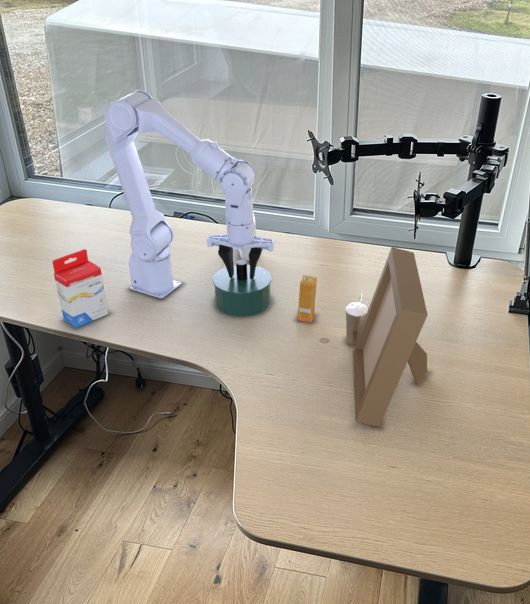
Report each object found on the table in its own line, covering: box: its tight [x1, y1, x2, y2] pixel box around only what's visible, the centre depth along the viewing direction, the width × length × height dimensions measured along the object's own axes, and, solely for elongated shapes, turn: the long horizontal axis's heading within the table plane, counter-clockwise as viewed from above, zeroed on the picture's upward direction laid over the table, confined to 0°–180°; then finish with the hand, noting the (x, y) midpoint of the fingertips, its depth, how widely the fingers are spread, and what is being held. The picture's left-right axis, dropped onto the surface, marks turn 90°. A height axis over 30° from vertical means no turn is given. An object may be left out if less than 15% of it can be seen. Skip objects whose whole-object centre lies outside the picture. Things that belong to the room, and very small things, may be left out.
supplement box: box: [297, 274, 318, 323], centre depth 144 cm, size 3×3×10 cm
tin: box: [213, 284, 271, 318], centre depth 150 cm, size 12×12×6 cm
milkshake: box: [345, 293, 369, 346], centre depth 137 cm, size 4×5×10 cm
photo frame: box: [352, 246, 428, 428], centre depth 120 cm, size 15×22×25 cm
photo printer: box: [238, 212, 257, 262], centre depth 169 cm, size 10×4×12 cm, turn 10°
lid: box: [212, 259, 272, 295], centre depth 147 cm, size 13×13×5 cm
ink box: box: [52, 248, 109, 329], centre depth 141 cm, size 8×5×15 cm, turn 138°
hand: (241, 276), depth 148 cm, fingers open, 4 cm apart
